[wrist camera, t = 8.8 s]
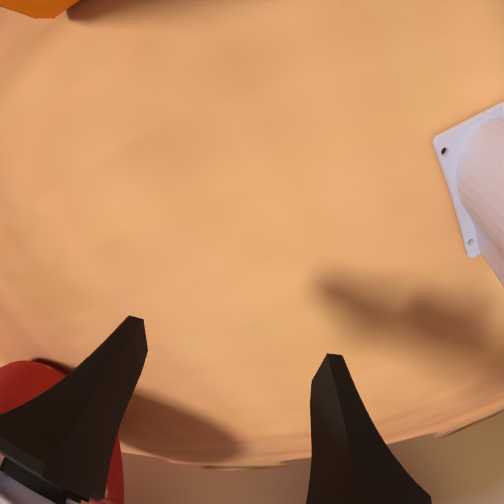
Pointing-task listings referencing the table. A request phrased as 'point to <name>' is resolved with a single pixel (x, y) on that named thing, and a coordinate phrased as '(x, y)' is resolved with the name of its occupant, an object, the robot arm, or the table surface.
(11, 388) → the mixing bowl
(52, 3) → the bracket
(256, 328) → the table surface
